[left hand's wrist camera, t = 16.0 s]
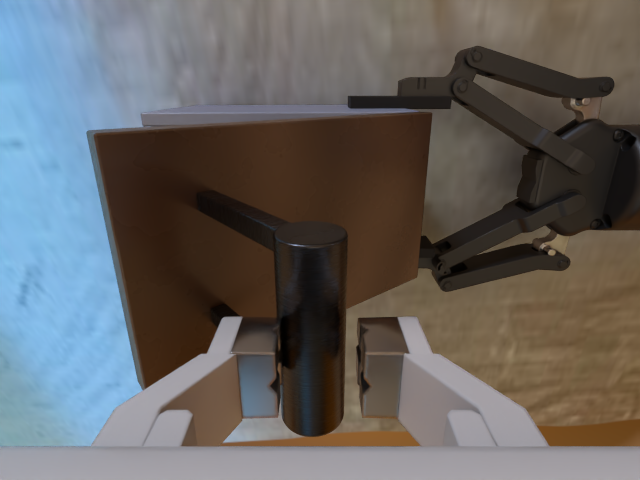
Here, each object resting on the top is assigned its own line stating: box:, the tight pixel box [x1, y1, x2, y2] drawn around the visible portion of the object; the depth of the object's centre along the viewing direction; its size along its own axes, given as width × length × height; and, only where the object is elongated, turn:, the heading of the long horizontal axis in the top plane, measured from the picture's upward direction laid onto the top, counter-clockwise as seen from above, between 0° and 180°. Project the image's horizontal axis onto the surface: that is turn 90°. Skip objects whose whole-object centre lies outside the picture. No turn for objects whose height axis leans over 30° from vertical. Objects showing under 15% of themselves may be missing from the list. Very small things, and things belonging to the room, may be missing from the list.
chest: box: [141, 105, 419, 127], centre depth 29 cm, size 16×10×11 cm, turn 90°
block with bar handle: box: [86, 112, 432, 437], centre depth 16 cm, size 16×10×8 cm
